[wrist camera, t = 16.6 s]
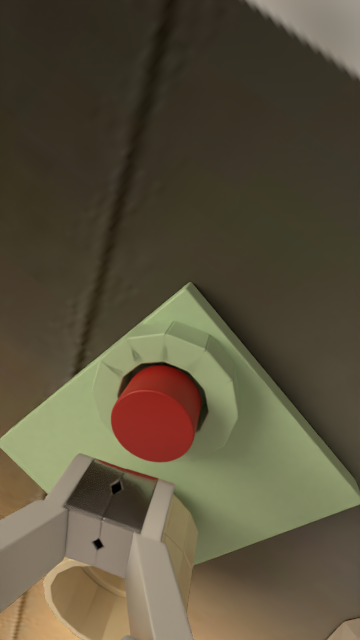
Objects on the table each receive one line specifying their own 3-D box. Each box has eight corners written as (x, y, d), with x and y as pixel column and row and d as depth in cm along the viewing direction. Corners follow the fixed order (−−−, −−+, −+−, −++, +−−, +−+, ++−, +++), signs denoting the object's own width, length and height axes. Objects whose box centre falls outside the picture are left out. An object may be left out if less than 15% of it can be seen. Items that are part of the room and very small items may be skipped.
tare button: (166, 350, 12) (153, 374, 10) (217, 407, 12) (212, 440, 11) (113, 389, 13) (93, 417, 11) (161, 440, 14) (149, 475, 12)
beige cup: (145, 453, 16) (109, 540, 11) (222, 535, 16) (215, 645, 12) (70, 497, 18) (17, 583, 14) (141, 567, 19) (111, 668, 14)
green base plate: (190, 279, 13) (176, 296, 11) (355, 478, 15) (380, 538, 12) (11, 427, 19) (-29, 463, 16) (147, 562, 20) (132, 616, 18)
